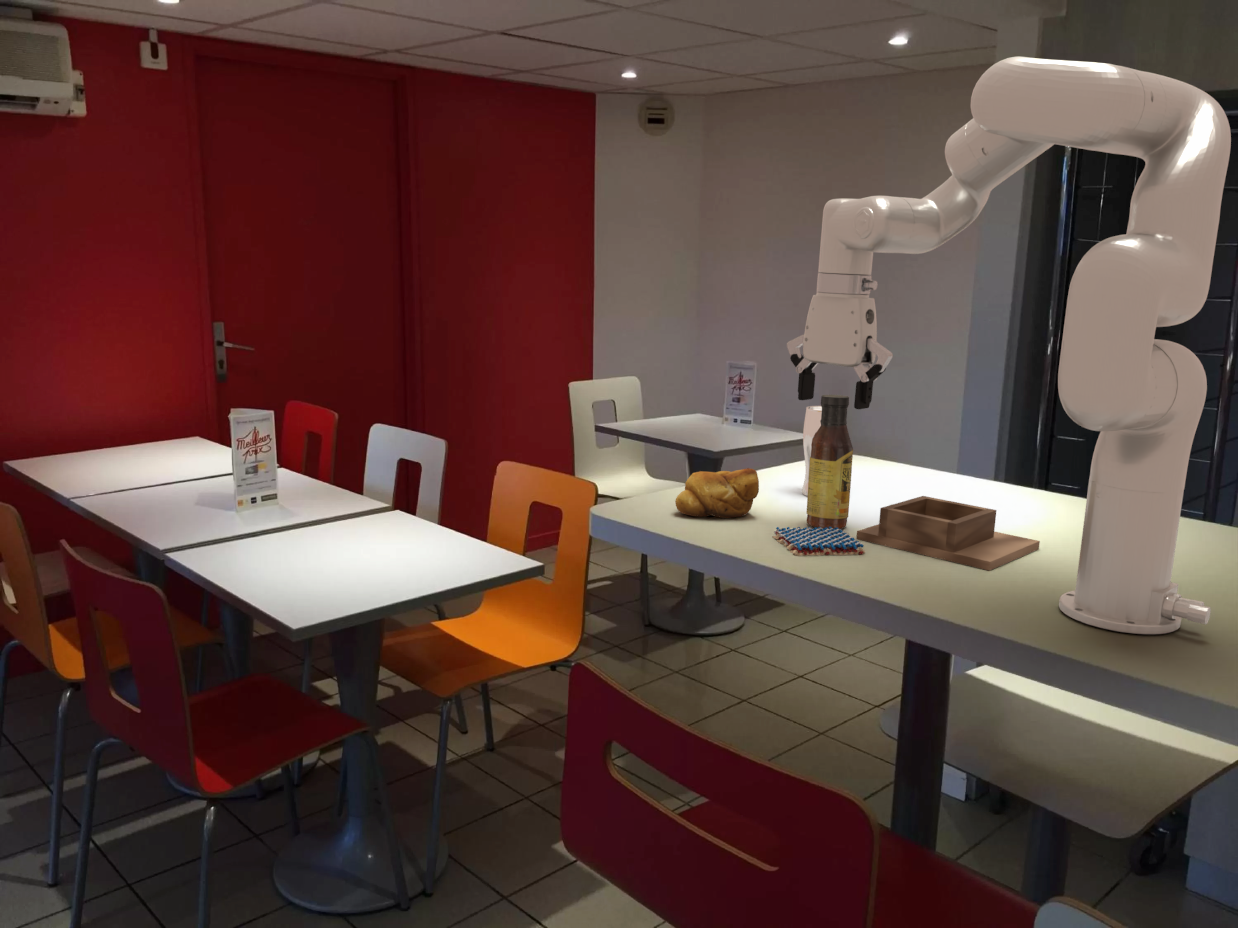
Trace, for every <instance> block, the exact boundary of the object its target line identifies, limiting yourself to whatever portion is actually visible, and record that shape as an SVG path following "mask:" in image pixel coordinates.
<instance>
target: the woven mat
mask: <svg viewBox="0 0 1238 928" xmlns="http://www.w3.org/2000/svg"><path fill="white" fill-rule="evenodd" d="M773 534H774V535H773V536H772V538H773V539H775V540H776V542H777V543H780V544H782V545H783V546H784V547H785V548H786V549H787V550H789V553H791V554H793V556H797V557H798V556H829V555H830V556H842V555H843V556H846V555H848V556H849V555H850V556H851V555H854V556H855V555H864V554H865V553H866V551H865V550H864V549H863V548H864V544H863V543H862V541H860V542H859V540H858V539H856V538H854V537H853V536H850V534H849V533H847V532H845V530H844V531H843V529H838V527H836V528H834V529H833V528H832V527H829V529H828V528H823V529H822V528H821V527H818V528H814V527H811V526H808V527H803V528H801V527H800V526H798V527H797V528H796V527H792V528H790V526H787V527H783V528H780V527H779V526H776V528H775V530H774V532H773Z"/></svg>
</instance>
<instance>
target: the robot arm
mask: <svg viewBox="0 0 1238 928" xmlns="http://www.w3.org/2000/svg"><path fill="white" fill-rule="evenodd" d="M970 112H971V115H972V119H970V120H969V121H968V122H967V123H965V124H964V125H962V127H960V128H959V129H957V130H956V131H955V132H954V133H953V134H951V135H950V137H948V139H947V140H946V143H945V147H944V157H945V161H946V164H947V167H948V169H949V172H950V173H951V176H949V177H948V179H946V180H945V181H944V182H943V183H941V184H940V185H939V186H938V187H936V188H935V189H934V190H932V191H931V192H930V193H928V194H927V195H925V196H923V197H922V198H914V197H904V196H903V197H902V196H890V195H871V196H867V197H862V198H846V197H845V198H841V197H840V198H832V199H830V200H828V201H827V202H826V203H825V204H824V207H823V211H822V220H821V221H822V222H821V232H820V233H821V234H820V245H819V246H820V249H819V258H818V270H817V271H818V272H817V279H816V281H817V282H816V294H812V298H811V301H810V304H809V308H808V312H807V316H806V320H805V327H804V333H803V334H801V335H799V336H797V337H795V338H793V339H791V340H789V341H788V342H787V341H786V342H787V343H786V348H787V351H788V353H789V355H790V361H791V363H792V364H793V366H794V368H795V372H796V373H797V374H798V382H797V383H798V384H797V393H798V394H797V395H798V397H797V399H798V400H799V401H808V400H812V399H814V395H815V384H816V383H815V382H816V373H815V372H813V370H814V369H816V367H817V365H819V364H821V365H822V364H823V365H831V366H837V367H838V366H839V367H847V368H853V370H854V371H855V373H856V375H857V376H858V377H859V378H858V379H860V380H859V381H856V382H855V383H856V384H855V392H854V402H853V403H854V404H853V408H854V409H855V410H864V409H865V410H866V409H868V408H869V407H870V405H871V402H872V401H873V400H872V399H873V388H874V387H873V386H874V382H876V381H877V379H878V378H879V377H880V376H881V375H882V374H883V373H884V372H886V369H887V367H888V365H889V363H890V362H891V360H892V359H893V356H894V355H893V352H892V351H890V350H888V348H887V347H885V346H883V345H882V344H880V343H879V342H878V341H877V339H878V338H877V337H878V334H877V333H878V331H877V330H878V328H877V327H878V325H877V321H878V320H877V310H876V309H877V308H876V303H875V301H876V300H875V298H874V297H870V294H871V291H876V290H877V289H878V285H879V284H878V283H879V282H878V281H877V280H874V279H872V278H873V275H872V270H873V258H874V253H880V254H881V253H883V254H908V255H909V254H911V255H920V254H924V253H927V252H928V253H929V252H931V251H933V250H935V249H937V248H939V247H941V246H942V245H943V244H945V243H947V242H948V241H950V240H951V239H952V238H954V237H955V236H957V235H959V234H960V233H961V232H963V231H964V230H965V229H966V228H968V227H969V226H970V225H971V224H972V223H974V221H976V219H977V218H978V217H979V216H980V213H981V212H982V211H983V209H984V208H985V205H986V204H987V202H988V200H989V198H990V195H991V192H992V191H993V189H994V188H996V187H997V186H999V185H1000V184H1001V183H1002V182H1004V181H1005V180H1007V179H1008V178H1010V177H1011V176H1013V175H1015V173H1016V172H1018V171H1020V170H1021V169H1022V168H1023V167H1025V166H1026V165H1027V164H1029V163H1030V162H1032V161H1033V160H1035V159H1036V158H1037V157H1040V155H1042V154H1043V153H1045V151H1048V150H1049V149H1050V148H1052V147H1053V146H1054V145H1058V146H1064V147H1071V148H1076V149H1083V150H1087V151H1093V152H1094V151H1095V152H1102V153H1108V154H1113V155H1124V156H1129V157H1134V158H1135V157H1136V158H1139V159H1141V160H1143V161H1144V162H1145V165H1144V168H1143V170H1142V172H1141V173H1140V176H1139V177H1138V179H1137V182H1136V184H1135V186H1134V189H1133V192H1132V195H1131V199H1130V207H1129V217H1128V222H1127V229H1126V234H1119V235H1115V236H1114V235H1113V236H1110V237H1108V238H1105V239H1103V240H1101V241H1099V242H1097V243H1096V244H1095V245H1093V246H1091V248H1090V249H1089V250H1088V251H1087V252H1086V253H1085V254H1084V255H1083V256H1082V257H1081V260H1080V261H1079V262H1078V264H1077V266H1076V268H1075V270H1074V273H1073V275H1072V277H1071V280H1070V284H1069V286H1068V287H1069V289H1068V295H1067V299H1066V308H1065V316H1064V324H1063V330H1062V331H1063V333H1062V340H1061V349H1060V355H1059V365H1058V373H1057V389H1058V396H1059V400H1060V403H1061V406H1062V408H1063V410H1064V411H1065V414H1067V416H1068V417H1069V418H1070V419H1071V420H1072V421H1073V422H1074V423H1075V424H1077V425H1078V426H1081V428H1084V429H1087V430H1090V431H1095V432H1099V434H1098V438H1097V440H1096V443H1095V446H1094V451H1093V453H1092V459H1091V464H1090V472H1089V479H1088V485H1087V495H1086V503H1085V508H1084V509H1085V511H1084V517H1083V518H1084V520H1083V524H1082V525H1083V527H1082V532H1081V533H1082V535H1081V544H1080V550H1079V558H1078V568H1077V573H1076V574H1077V575H1076V582H1075V583H1076V584H1075V590H1071V591H1070V590H1069V591H1067V592H1064V593H1063V594H1061V595H1060V596H1059V601H1058V608H1059V610H1060V611H1061V612H1063V614H1065V615H1066V616H1068V618H1069V617H1070V618H1072V619H1074V620H1075V621H1078V622H1080V623H1083V624H1085V625H1089V626H1092V627H1096V628H1100V629H1104V630H1109V631H1113V632H1118V633H1119V632H1120V633H1128V634H1137V635H1162V634H1163V635H1164V634H1169V633H1172V632H1175V631H1177V630H1178V629H1179V628H1181V624H1182V623H1181V622H1182V619H1186V620H1187V621H1189V622H1190V621H1191V622H1193V623H1194V622H1195V623H1199V624H1203V625H1207V624H1208V622H1209V620H1210V617H1211V607H1210V606H1207V605H1205V602H1204V601H1201V600H1195V599H1191V598H1190V599H1189V598H1185V597H1182V594H1179V593H1178V589H1179V583H1176V582H1171V581H1172V574H1173V568H1174V561H1175V554H1176V546H1177V541H1178V540H1177V539H1178V532H1179V526H1180V519H1181V513H1182V505H1183V499H1184V490H1185V487H1186V479H1187V472H1188V468H1189V467H1188V466H1189V462H1190V461H1189V460H1190V456H1191V451H1192V447H1193V446H1192V445H1193V443H1194V439H1195V434H1196V431H1197V428H1198V425H1199V422H1200V419H1201V416H1202V413H1203V410H1204V406H1205V402H1206V400H1207V399H1206V397H1207V392H1208V385H1207V384H1208V383H1207V380H1208V379H1207V375H1206V370H1205V369H1204V366H1203V363H1202V362H1201V360H1200V359H1199V357H1198V356H1196V354H1195V353H1194V352H1193V351H1191V350H1190V349H1189V348H1187V347H1186V346H1184V345H1182V344H1180V343H1177V342H1174V341H1171V340H1168V339H1167V340H1166V339H1158V338H1157V339H1156V338H1155V335H1156V330H1157V328H1163V327H1171V326H1177V325H1180V324H1183V323H1185V322H1187V321H1189V320H1191V319H1192V318H1194V317H1195V316H1196V315H1197V314H1198V313H1199V312H1201V310H1202V308H1203V307H1204V305H1205V302H1206V301H1207V299H1208V294H1209V290H1210V285H1211V277H1212V271H1213V265H1214V256H1215V251H1216V243H1217V238H1218V230H1219V224H1220V219H1221V218H1220V216H1221V206H1222V199H1223V193H1224V187H1225V183H1226V176H1227V171H1228V167H1229V162H1230V154H1231V146H1232V145H1231V144H1232V143H1231V142H1232V137H1231V136H1232V134H1231V127H1230V123H1229V122H1230V121H1229V119H1228V117H1227V115H1226V113H1225V112H1226V111H1225V110H1224V109H1223V107H1222V106H1221V105H1220V102H1218V101H1217V100H1216V99H1215V98H1214V97H1213V96H1211V95H1210V94H1208V93H1207V92H1205V91H1204V90H1202V89H1200V88H1198V87H1196V86H1195V85H1192V84H1189V83H1188V82H1185V81H1182V80H1178V79H1176V78H1172V77H1168V76H1165V75H1162V74H1157V73H1154V72H1149V71H1143V70H1138V69H1134V68H1132V67H1131V68H1130V67H1127V66H1124V65H1116V64H1112V63H1105V62H1095V61H1083V60H1082V61H1080V60H1066V59H1053V58H1052V59H1050V58H1035V57H1028V56H1012V57H1007V58H1004V59H1001V60H999V61H997V62H996V63H993V65H991V66H990V67H989V68H987V70H985V71H984V72H983V74H981V76H980V77H979V79H978V80H977V82H976V83H975V86H974V87H973V90H972V94H971V97H970ZM801 347H802V354H801ZM876 357H877V360H876ZM875 361H876V363H875Z"/></svg>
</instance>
